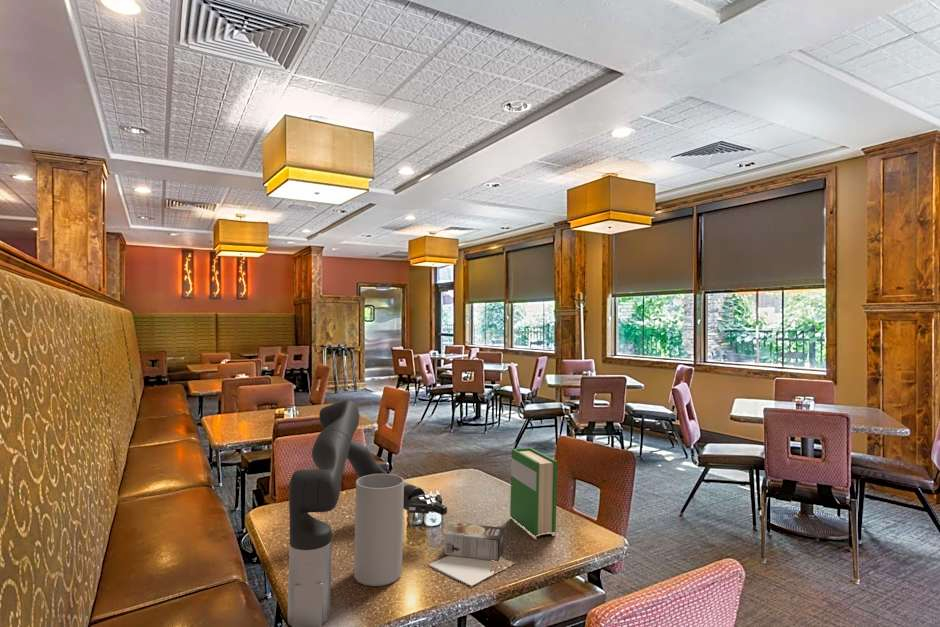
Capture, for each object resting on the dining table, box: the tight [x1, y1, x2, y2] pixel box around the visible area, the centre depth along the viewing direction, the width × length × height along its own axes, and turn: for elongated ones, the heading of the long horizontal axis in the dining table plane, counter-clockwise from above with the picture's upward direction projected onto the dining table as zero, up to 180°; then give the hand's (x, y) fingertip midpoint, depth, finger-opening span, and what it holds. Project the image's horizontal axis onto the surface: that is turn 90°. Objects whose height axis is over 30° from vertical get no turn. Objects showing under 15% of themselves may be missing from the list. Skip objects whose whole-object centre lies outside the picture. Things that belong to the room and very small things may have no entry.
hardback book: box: [509, 447, 558, 536], centre depth 172 cm, size 18×7×24 cm, turn 22°
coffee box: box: [443, 522, 505, 561], centre depth 152 cm, size 9×6×16 cm
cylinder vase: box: [353, 473, 405, 587], centre depth 138 cm, size 12×12×25 cm
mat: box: [428, 555, 500, 586], centre depth 145 cm, size 16×18×1 cm
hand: (445, 511), depth 153 cm, fingers closed
